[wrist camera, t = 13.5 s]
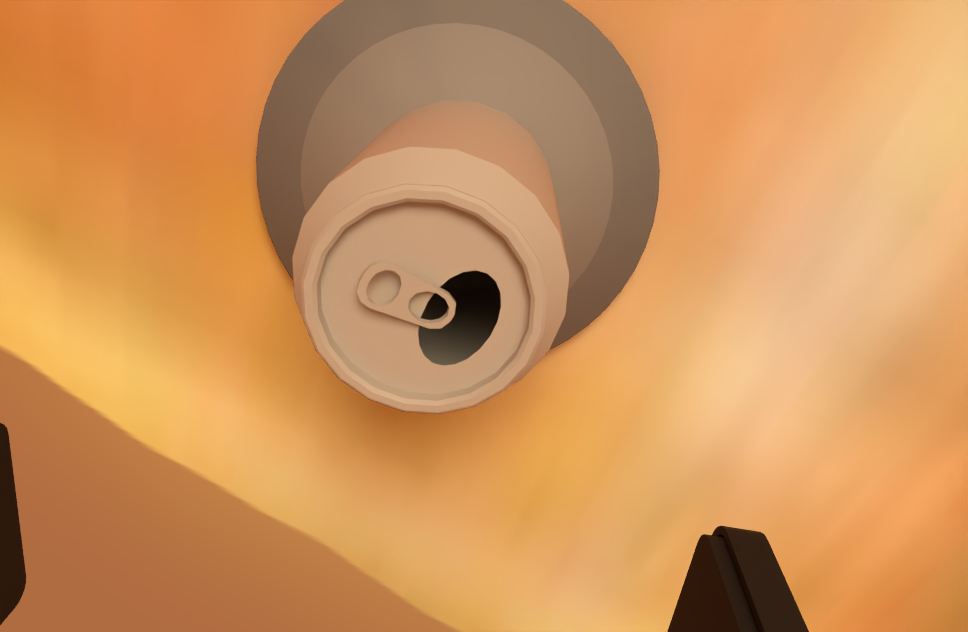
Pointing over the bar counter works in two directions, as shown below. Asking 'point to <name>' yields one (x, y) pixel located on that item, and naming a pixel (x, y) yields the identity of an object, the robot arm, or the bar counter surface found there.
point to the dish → (481, 78)
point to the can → (435, 261)
